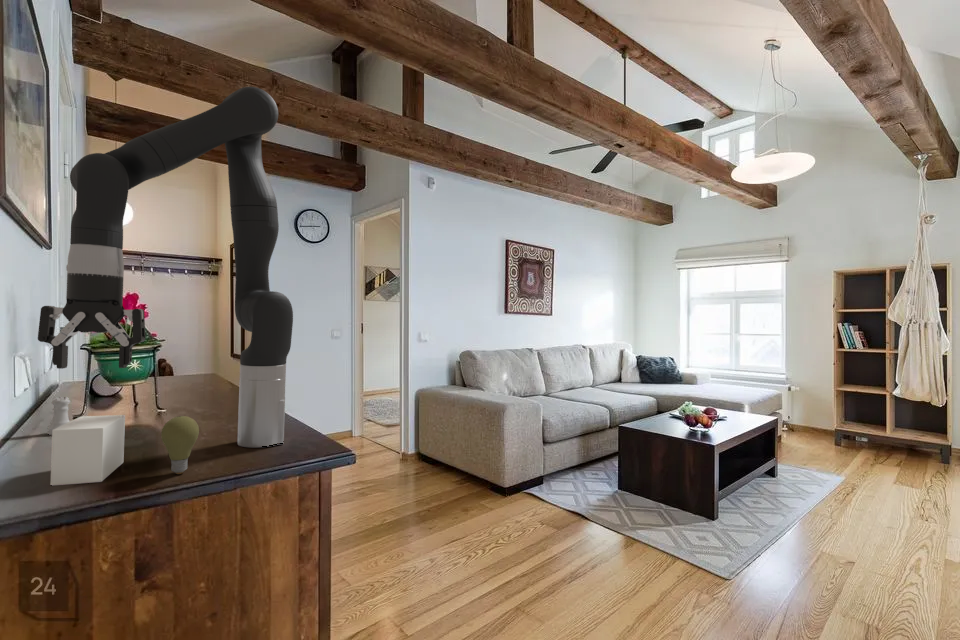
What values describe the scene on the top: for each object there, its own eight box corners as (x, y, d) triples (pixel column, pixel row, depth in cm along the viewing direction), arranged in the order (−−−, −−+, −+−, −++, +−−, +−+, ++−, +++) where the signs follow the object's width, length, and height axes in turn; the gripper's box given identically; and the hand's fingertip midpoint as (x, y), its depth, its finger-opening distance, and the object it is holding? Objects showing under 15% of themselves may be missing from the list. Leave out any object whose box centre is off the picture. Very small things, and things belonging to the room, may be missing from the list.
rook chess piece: (57, 436, 103) (58, 399, 103) (40, 434, 104) (42, 398, 104) (78, 431, 108) (79, 396, 108) (62, 430, 108) (63, 395, 108)
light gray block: (123, 462, 87) (125, 414, 87) (101, 481, 77) (103, 428, 77) (79, 465, 85) (80, 416, 85) (50, 485, 75) (52, 430, 75)
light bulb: (174, 467, 85) (176, 412, 85) (204, 469, 85) (206, 413, 85) (151, 477, 80) (153, 418, 80) (184, 479, 80) (186, 420, 80)
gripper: (151, 277, 87) (148, 365, 87) (54, 272, 82) (50, 365, 82) (139, 274, 80) (135, 370, 80) (31, 268, 75) (28, 370, 75)
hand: (92, 367), depth 81 cm, fingers open, 8 cm apart
